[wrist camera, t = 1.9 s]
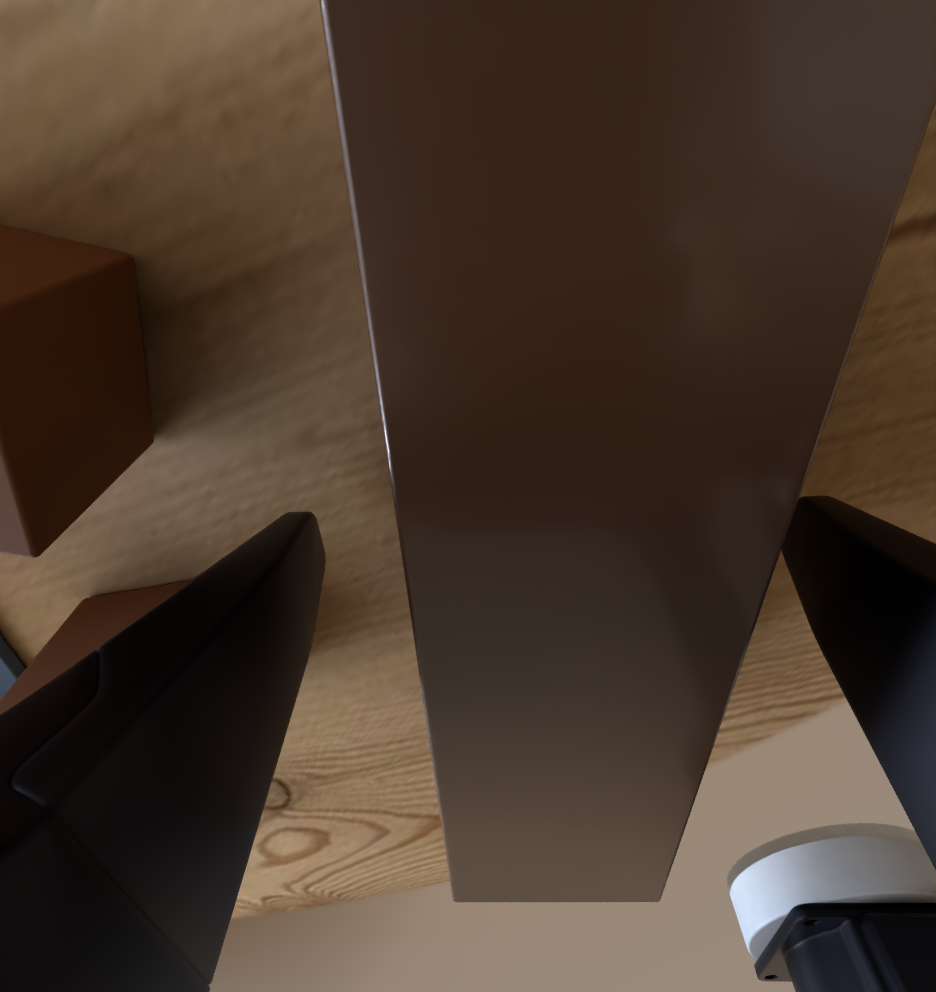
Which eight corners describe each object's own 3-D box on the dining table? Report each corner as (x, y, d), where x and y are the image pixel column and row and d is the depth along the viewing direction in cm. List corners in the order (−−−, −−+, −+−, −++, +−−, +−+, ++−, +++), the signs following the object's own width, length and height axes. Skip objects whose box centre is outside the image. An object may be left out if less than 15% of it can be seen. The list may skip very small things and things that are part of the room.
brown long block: (614, 702, 13) (660, 903, 10) (459, 704, 13) (452, 903, 10) (721, 34, 6) (996, -60, 3) (400, 55, 6) (314, -14, 3)
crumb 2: (280, 672, 13) (230, 809, 10) (159, 689, 13) (83, 824, 10) (218, 574, 11) (140, 709, 8) (82, 597, 11) (-30, 732, 9)
